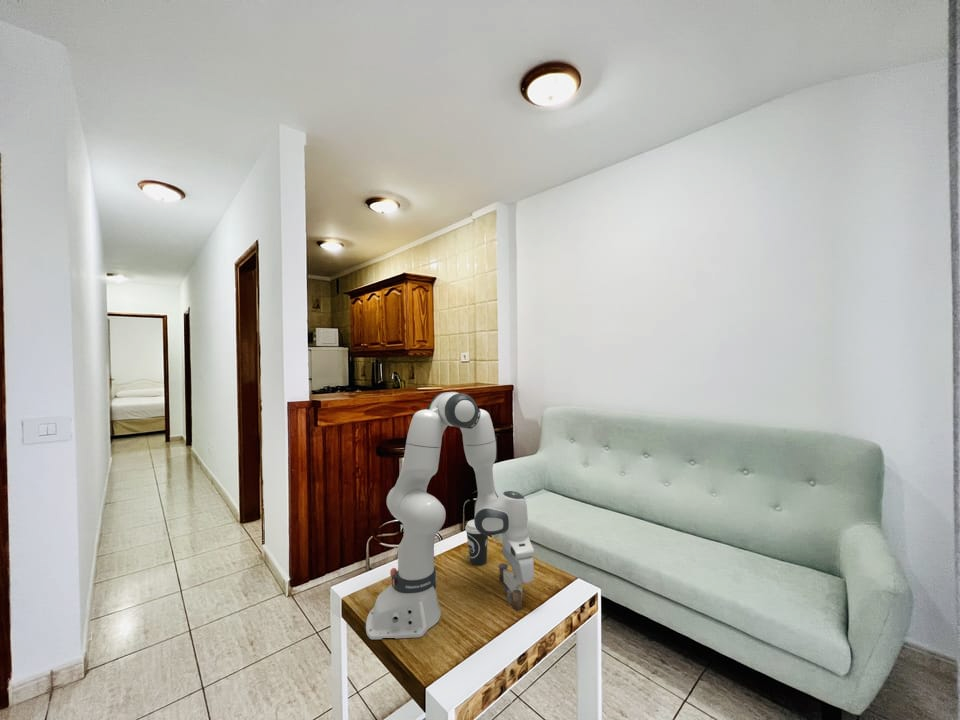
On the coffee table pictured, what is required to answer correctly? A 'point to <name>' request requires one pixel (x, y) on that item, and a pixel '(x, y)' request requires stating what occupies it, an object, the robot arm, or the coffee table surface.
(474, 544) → the coffee cup
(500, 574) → the hinge post
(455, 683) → the coffee table surface
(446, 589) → the coffee table surface
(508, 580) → the white long block
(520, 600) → the brown rounded cylinder
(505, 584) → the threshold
